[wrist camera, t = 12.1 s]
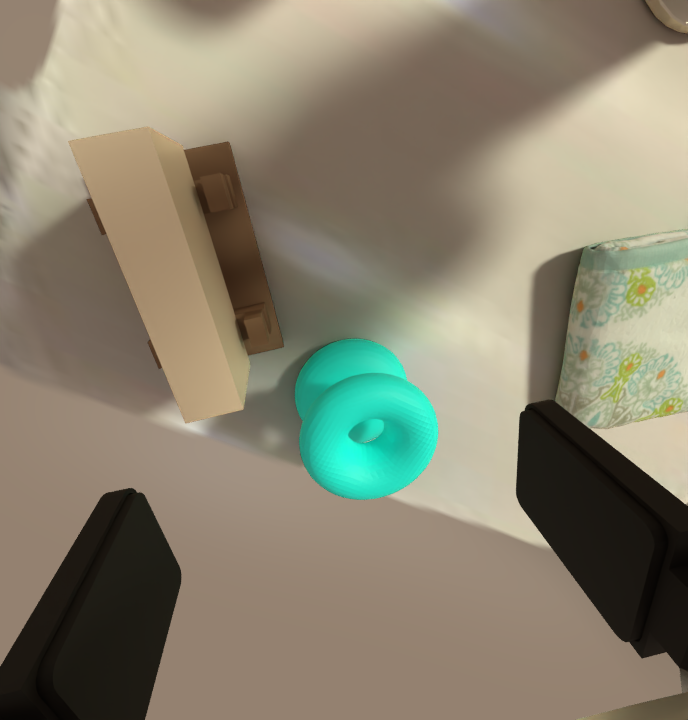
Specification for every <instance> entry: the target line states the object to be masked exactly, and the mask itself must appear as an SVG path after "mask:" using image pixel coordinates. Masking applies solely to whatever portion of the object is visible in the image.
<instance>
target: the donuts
mask: <svg viewBox="0 0 688 720" xmlns="http://www.w3.org/2000/svg"><path fill="white" fill-rule="evenodd" d="M295 403H296V408H297V411H298V414H299V416H300V418H301V419H302V421H303V423H302V426H301V430H300V437H299V446H300V454H301V458H302V461H303V463H304V466H305V467H306V469H307V471H308V473H309V474H310V476H311V477H312V478H313V479H314V480H315V481H316V482H317V483H318V484H319V485H320V486H322V487H323V488H324V489H326V490H327V491H329V492H331V493H333V494H335V495H338V496H341V497H345V498H349V499H357V500H365V499H366V500H367V499H375V498H380V497H384V496H387V495H390V494H393V493H395V492H397V491H399V490H401V489H403V488H404V487H406V486H407V485H409V484H410V483H411V482H413V481H414V480H415V479H416V478H417V477H418V476H419V475H420V474H421V473H422V472H423V471H424V469H425V468H426V467H427V465H428V464H429V462H430V460H431V458H432V456H433V454H434V451H435V448H436V445H437V439H438V423H437V418H436V414H435V411H434V409H433V406H432V405H431V403H430V401H429V400H428V398H427V397H426V396H425V395H424V393H423V392H422V391H421V390H420V389H419V388H417V387H416V386H415V385H413V384H412V383H410V382H408V381H407V378H406V374H405V371H404V368H403V366H402V365H401V363H400V361H399V360H398V359H397V357H396V356H395V355H394V354H393V353H392V352H391V351H390V350H388V349H387V348H385V347H384V346H382V345H380V344H378V343H375V342H373V341H369V340H365V339H344V340H340V341H336V342H333V343H331V344H328V345H326V346H325V347H323V348H321V349H320V350H318V351H317V352H316V353H314V354H313V355H312V356H311V357H310V358H309V359H308V361H307V362H306V363H305V365H304V366H303V368H302V369H301V371H300V373H299V376H298V378H297V382H296V386H295ZM376 437H377V438H376ZM374 438H376V439H374ZM372 439H374V440H372ZM370 440H372V441H370ZM367 441H370V442H367ZM363 442H366V443H363Z"/></svg>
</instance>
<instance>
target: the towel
mask: <svg viewBox="0 0 688 720" xmlns="http://www.w3.org/2000/svg"><path fill="white" fill-rule="evenodd" d="M555 402H557V403H558V404H559V405H560V406H562V407H563V408H564V409H565V410H567V411H568V412H569V413H570V414H572V415H573V416H574V417H576V418H577V419H578V420H579V421H581V422H582V423H583V424H584V425H586V426H587V427H588V428H589V429H591V428H599V429H610V428H613V427H617V426H623V425H626V424H629V423H633V422H639V421H643V420H647V419H652V418H656V417H663V416H668V415H673V414H677V413H682V412H688V229H684V230H677V231H670V232H663V233H655V234H649V235H643V236H637V237H629V238H623V239H617V240H611V241H606V242H601V243H595V244H593V245H589V246H586V247H584V249H583V253H582V256H581V260H580V265H579V267H578V273H577V277H576V281H575V286H574V292H573V297H572V303H571V309H570V316H569V323H568V330H567V337H566V344H565V352H564V359H563V365H562V371H561V376H560V380H559V385H558V390H557V394H556V399H555Z"/></svg>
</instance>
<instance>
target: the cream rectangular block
mask: <svg viewBox="0 0 688 720" xmlns="http://www.w3.org/2000/svg"><path fill="white" fill-rule="evenodd" d="M68 142H69V145H70V147H71V150H72V152H73V154H74V157H75V159H76V162H77V164H78V166H79V169H80V171H81V174H82V176H83V178H84V181H85V183H86V186H87V188H88V190H89V193H90V195H91V198H92V200H93V202H94V205H95V207H96V210H97V212H98V214H99V217H100V219H101V222H102V224H103V226H104V229H105V231H106V234H107V236H108V238H109V241H110V243H111V246H112V248H113V250H114V253H115V255H116V258H117V260H118V262H119V265H120V267H121V270H122V272H123V274H124V277H125V279H126V282H127V284H128V286H129V289H130V291H131V294H132V296H133V298H134V301H135V303H136V306H137V308H138V310H139V313H140V315H141V318H142V320H143V322H144V325H145V327H146V330H147V332H148V334H149V337H150V339H151V342H152V344H153V346H154V349H155V351H156V354H157V356H158V358H159V361H160V363H161V366H162V368H163V370H164V373H165V375H166V378H167V380H168V382H169V385H170V387H171V390H172V392H173V394H174V397H175V399H176V402H177V404H178V406H179V409H180V411H181V414H182V416H183V418H184V421H185V423H190V422H194V421H198V420H202V419H206V418H210V417H215V416H219V415H223V414H227V413H231V412H235V411H240V410H244V403H245V396H246V390H247V383H248V377H249V370H250V361H249V358H248V355H247V352H246V349H245V345H244V342H243V339H242V336H241V332H240V329H239V326H238V323H237V320H236V316H235V313H234V310H233V307H232V304H231V300H230V297H229V294H228V291H227V287H226V284H225V281H224V278H223V275H222V271H221V268H220V265H219V262H218V258H217V255H216V252H215V249H214V246H213V242H212V239H211V236H210V233H209V230H208V226H207V223H206V220H205V217H204V213H203V210H202V207H201V204H200V201H199V197H198V194H197V191H196V188H195V184H194V181H193V178H192V175H191V172H190V168H189V165H188V162H187V159H186V156H185V152H184V149H183V146H182V145H180V144H179V143H177V142H175V141H173V140H171V139H170V138H168V137H166V136H164V135H162V134H161V133H159V132H157V131H155V130H153V129H152V128H150V127H143V128H138V129H132V130H126V131H121V132H115V133H110V134H104V135H99V136H93V137H88V138H82V139H77V140H71V141H68Z"/></svg>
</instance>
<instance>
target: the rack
mask: <svg viewBox="0 0 688 720" xmlns="http://www.w3.org/2000/svg"><path fill="white" fill-rule="evenodd" d="M184 152H185V156H186V159H187V162H188V165H189V168H190V172H191V175H192V178H193V181H194V184H195V188H196V191H197V194H198V197H199V201H200V204H201V207H202V210H203V213H204V217H205V220H206V223H207V226H208V230H209V233H210V236H211V239H212V242H213V246H214V249H215V252H216V255H217V258H218V262H219V265H220V268H221V271H222V275H223V278H224V281H225V284H226V287H227V291H228V294H229V297H230V300H231V304H232V307H233V310H234V313H235V316H236V320H237V323H238V326H239V329H240V332H241V336H242V339H243V342H244V345H245V349H246V352H247V355H252V354H256V353H260V352H265V351H269V350H273V349H277V348H282V347H284V344H283V339H282V336H281V332H280V328H279V325H278V321H277V317H276V313H275V310H274V306H273V302H272V299H271V295H270V291H269V287H268V284H267V280H266V276H265V273H264V269H263V265H262V261H261V258H260V254H259V250H258V247H257V243H256V239H255V235H254V232H253V228H252V224H251V221H250V217H249V213H248V209H247V206H246V202H245V198H244V195H243V191H242V187H241V183H240V180H239V176H238V172H237V169H236V165H235V161H234V157H233V154H232V150H231V146H230V143H229V142H224V143H219V144H213V145H208V146H203V147H198V148H192V149H187V150H184ZM87 201H88V203H89V206H90V208H91V210H92V213H93V215H94V217H95V220H96V222H97V224H98V227H99V229H100V232H101V234H102V235H104V234H106V231H105V229H104V226H103V224H102V222H101V219H100V217H99V214H98V212H97V210H96V207H95V205H94V202H93V200H92V198H91V199H87ZM148 344H149V347H150V349H151V351H152V354H153V356H154V358H155V361H156V363H157V365H158V368H159V369H160V368H162V366H161V363H160V361H159V358H158V356H157V354H156V351H155V349H154V346H153V344H152V342H151V339H150V340H149V341H148Z"/></svg>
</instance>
